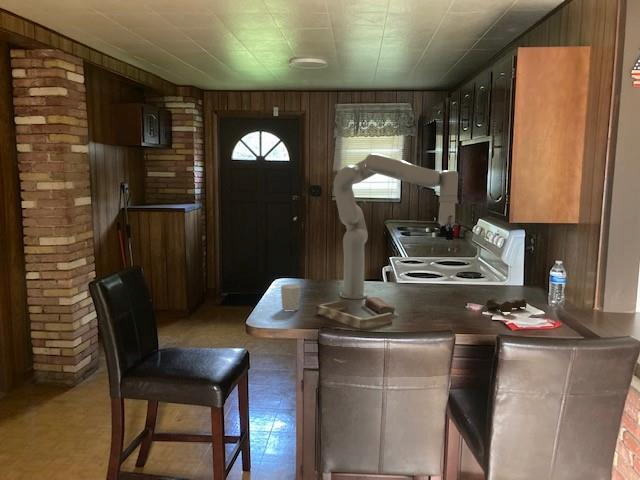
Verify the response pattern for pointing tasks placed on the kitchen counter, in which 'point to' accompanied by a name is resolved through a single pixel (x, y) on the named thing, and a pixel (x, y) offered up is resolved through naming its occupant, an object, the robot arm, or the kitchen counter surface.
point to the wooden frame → (354, 321)
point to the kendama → (505, 304)
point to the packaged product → (378, 307)
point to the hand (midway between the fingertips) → (446, 238)
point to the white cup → (290, 296)
